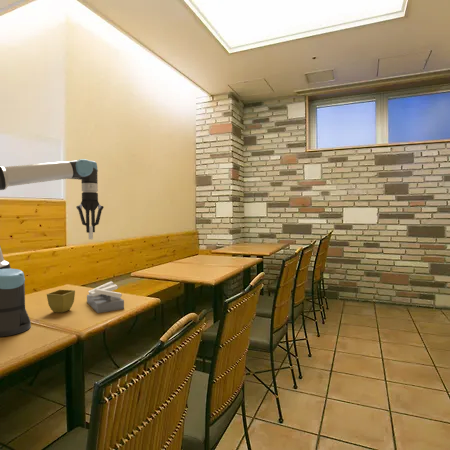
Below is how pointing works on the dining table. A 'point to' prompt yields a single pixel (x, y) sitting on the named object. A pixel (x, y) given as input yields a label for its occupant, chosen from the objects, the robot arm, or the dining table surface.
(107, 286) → the bar
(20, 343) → the dining table surface
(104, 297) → the switch panel
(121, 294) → the bar
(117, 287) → the bar
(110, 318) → the dining table surface
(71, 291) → the flower pot
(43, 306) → the dining table surface
